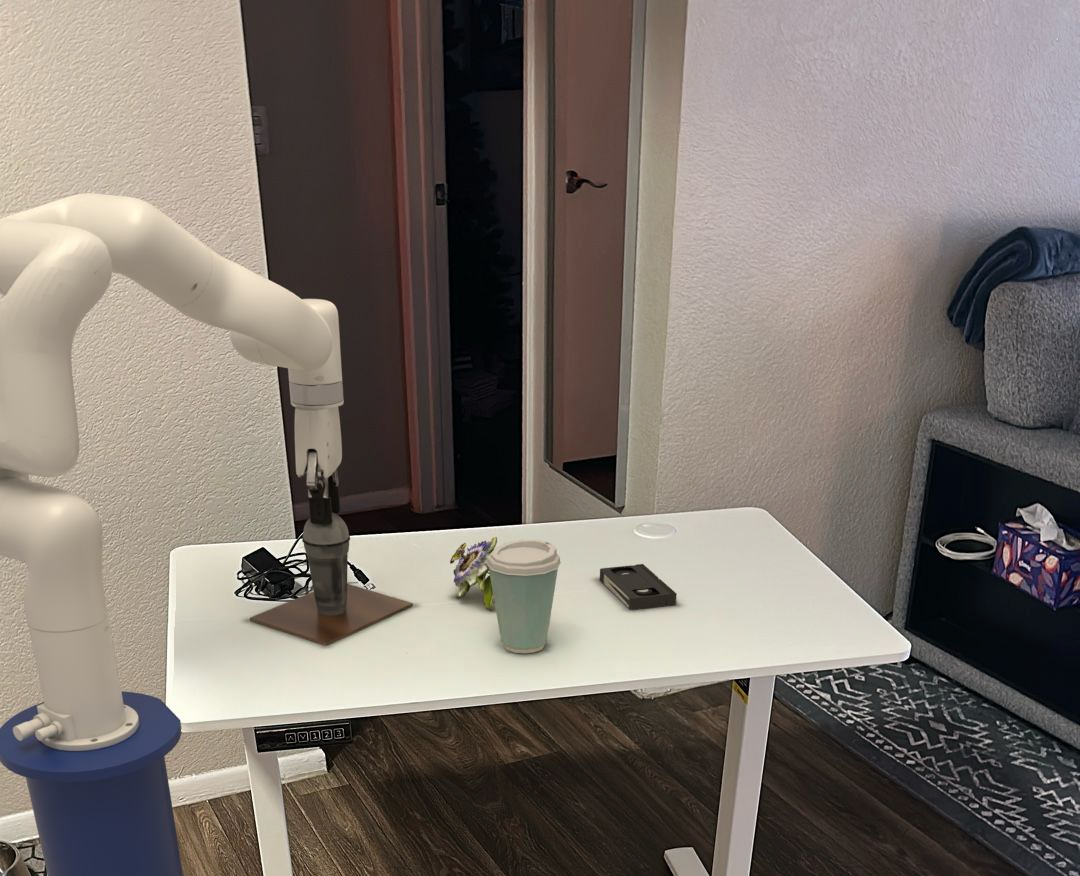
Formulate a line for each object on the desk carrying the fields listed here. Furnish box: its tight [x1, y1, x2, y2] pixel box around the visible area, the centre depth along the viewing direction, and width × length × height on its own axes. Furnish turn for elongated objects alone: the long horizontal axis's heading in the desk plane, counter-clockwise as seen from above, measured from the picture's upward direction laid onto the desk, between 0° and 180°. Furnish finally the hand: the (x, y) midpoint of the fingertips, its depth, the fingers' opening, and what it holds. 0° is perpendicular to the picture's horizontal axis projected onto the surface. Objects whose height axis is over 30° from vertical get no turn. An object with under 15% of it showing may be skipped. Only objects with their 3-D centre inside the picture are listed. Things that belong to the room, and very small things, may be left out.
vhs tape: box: [599, 563, 678, 611], centre depth 210 cm, size 14×8×2 cm, turn 18°
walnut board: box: [249, 583, 414, 647], centre depth 200 cm, size 20×16×1 cm
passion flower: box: [449, 536, 498, 612], centre depth 205 cm, size 11×11×12 cm
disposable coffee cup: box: [487, 538, 561, 654], centre depth 187 cm, size 11×11×15 cm
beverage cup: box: [301, 480, 351, 616], centre depth 195 cm, size 7×7×20 cm
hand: (325, 516), depth 192 cm, fingers open, 4 cm apart
